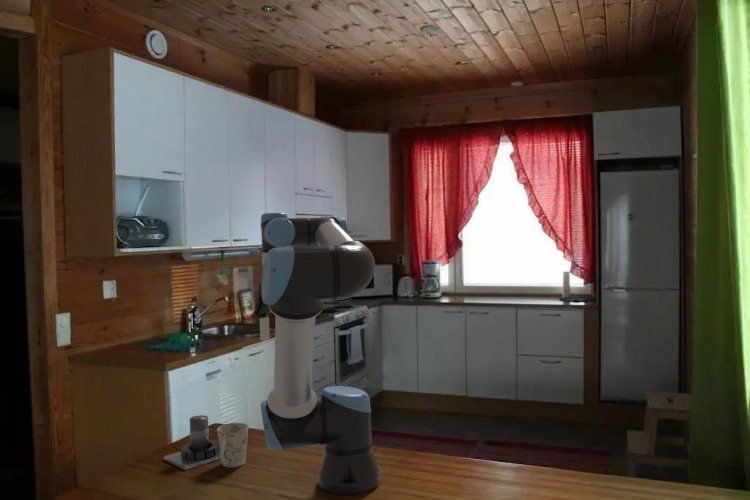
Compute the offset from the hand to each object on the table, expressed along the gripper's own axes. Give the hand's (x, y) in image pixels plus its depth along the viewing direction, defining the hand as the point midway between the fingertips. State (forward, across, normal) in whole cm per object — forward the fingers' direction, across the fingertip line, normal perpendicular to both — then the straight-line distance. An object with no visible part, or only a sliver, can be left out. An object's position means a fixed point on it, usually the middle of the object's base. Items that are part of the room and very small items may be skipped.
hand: (278, 342), depth 173 cm
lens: (+31, +16, +17) cm, 39 cm away
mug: (+32, +3, +15) cm, 35 cm away
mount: (+32, +16, +17) cm, 39 cm away
